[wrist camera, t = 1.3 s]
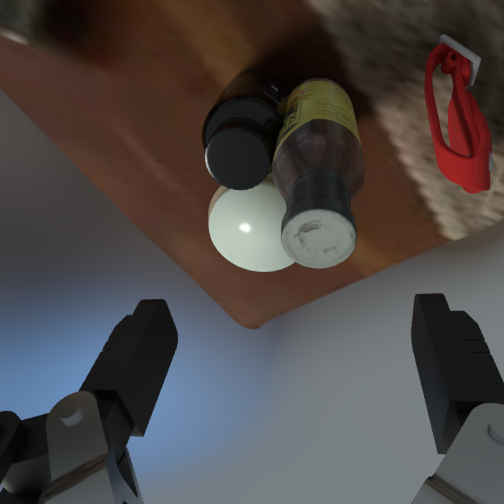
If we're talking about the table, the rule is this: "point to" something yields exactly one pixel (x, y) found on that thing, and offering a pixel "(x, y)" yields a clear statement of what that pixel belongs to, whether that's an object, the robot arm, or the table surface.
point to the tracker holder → (459, 119)
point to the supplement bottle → (245, 130)
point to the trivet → (249, 226)
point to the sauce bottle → (318, 174)
